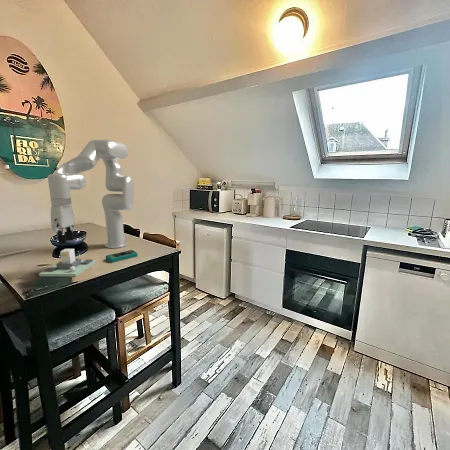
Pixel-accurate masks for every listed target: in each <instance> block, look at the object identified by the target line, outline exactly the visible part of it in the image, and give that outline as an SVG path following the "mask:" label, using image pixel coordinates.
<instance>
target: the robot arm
mask: <svg viewBox="0 0 450 450" xmlns="http://www.w3.org/2000/svg"><path fill="white" fill-rule="evenodd" d="M128 155H129V149H128V147H127V146H126V145H125V143H123V142H119V141H115V140H111V139H93V140H90V141H88V143H87V144H86V145H85V146H84V148H83V149H82V151H81V152H80V153H79V154H78V155H77V156H76V157H73V158H71V159H70V160H68V161H66V162H65V163H62V164H61V165H60V166H59V167H58V168H57V169H56V171H55V172H54V173H50V174H48V176H47V182H48V189H49V195H50V224H51V228H52V231H53V232H55V234H56V235H57V239H58V244H63V245H64V244H67V241H74V227H75V224H76V222H75V216H74V211H73V210H74V209H73V206H72V198H71V191H73V190H75V191H77V190H81V189H83V188H85V187H86V185H87V178H86V177H85V176H84V175H83V174H82V173H84V172H87V171H90V170H92V169H94V168H95V166H96V165H97V164H98V162H99V161H100V159H101V160H102V162H103V164H104V165H105V189H106V191H109V192H116V193H107V194H105V195H103V197H102V199H101V205H102V208H103V211H104V216H105V217H104V218H105V227H106V228H105V229H106V237H107V238H106V239H107V240H106V241H107V242H106V243H105V244H104V246H105V248H108V249H119V248H122V247H123V248H124V247H126V246H127V245H128V242H127V241H125V239H126V236H125V232H124V217H123V215H122V213H121V211H130V210H131V209H132V208H133V206H134V194H135V193H134V192H135V189H134V188H135V186H134V180H133V178H132V177H131V176H129V175H122V165H121V164H120V162H119V161H118V160H124V159H126V158H127V157H128ZM80 173H81V174H80ZM117 192H120V193H117Z"/></svg>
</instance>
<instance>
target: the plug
mask: <svg viewBox="0 0 450 450" xmlns="http://www.w3.org/2000/svg"><path fill="white" fill-rule="evenodd" d="M75 253H76V252H75V248H64V249H62V250H61V251H60V262H61V261H62V263H73V262H75V261H76V260H75V259H76V254H75Z"/></svg>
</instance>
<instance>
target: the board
mask: <svg viewBox="0 0 450 450" xmlns="http://www.w3.org/2000/svg"><path fill="white" fill-rule="evenodd" d="M75 260H76V261H75V262H73V263H62V261H61V260H60V261H59V262H57V263H56V264H54V265H52V266H50V267H47V268H45V269H43V271H41V272H39V273H38V277H54V278H55V277H57V278H58V277H66V278H67V277H69V278H70V277H71V278H72V277H78V276H79V275H80V274H82V273H83V272H85V271H86V270H88V268H90V267H92V266H93V265H95V264H96V263H97V259H93V258H92V259H89V258H88V259H82V258H75Z"/></svg>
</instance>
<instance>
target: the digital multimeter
mask: <svg viewBox="0 0 450 450" xmlns="http://www.w3.org/2000/svg"><path fill="white" fill-rule="evenodd" d="M137 257H138V252H137V251H135V250H133V249H129V250H125V251H120V252H116V253H111V254H106V256H105V260H106V261H107V262H108V263H111V264H113V263H117V262H120V261H125V260H129V259H132V258H137Z"/></svg>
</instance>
